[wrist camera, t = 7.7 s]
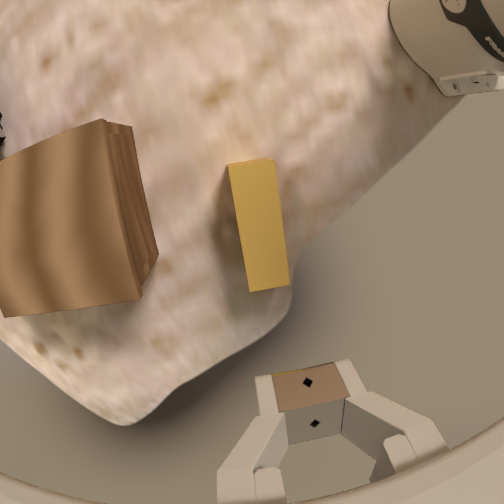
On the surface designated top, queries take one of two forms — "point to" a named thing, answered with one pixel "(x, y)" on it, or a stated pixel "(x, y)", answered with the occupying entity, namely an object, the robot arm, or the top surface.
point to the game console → (1, 133)
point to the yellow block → (259, 223)
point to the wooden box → (132, 198)
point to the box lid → (63, 227)
